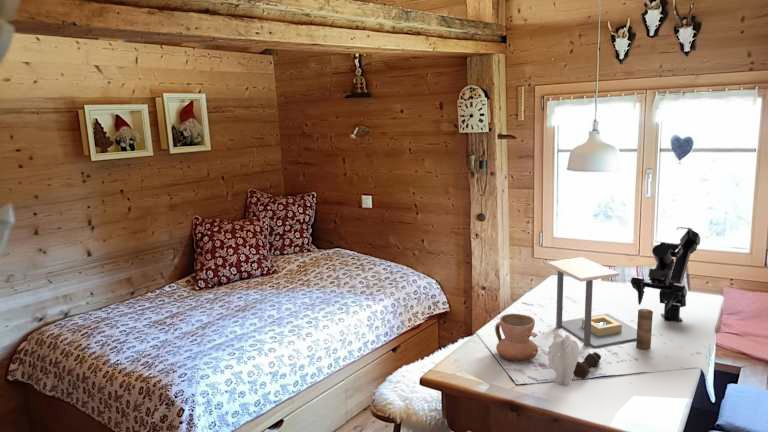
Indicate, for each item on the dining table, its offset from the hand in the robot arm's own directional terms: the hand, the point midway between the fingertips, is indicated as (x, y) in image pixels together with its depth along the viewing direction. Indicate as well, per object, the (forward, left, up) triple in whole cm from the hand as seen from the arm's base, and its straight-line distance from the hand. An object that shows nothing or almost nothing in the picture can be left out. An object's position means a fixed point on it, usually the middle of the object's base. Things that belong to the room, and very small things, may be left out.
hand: (652, 306), depth 213 cm
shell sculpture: (+35, -36, -13) cm, 52 cm away
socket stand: (-6, -19, -13) cm, 24 cm away
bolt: (+25, -26, -14) cm, 39 cm away
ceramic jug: (+17, -50, -13) cm, 55 cm away
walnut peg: (+6, -4, -13) cm, 15 cm away
